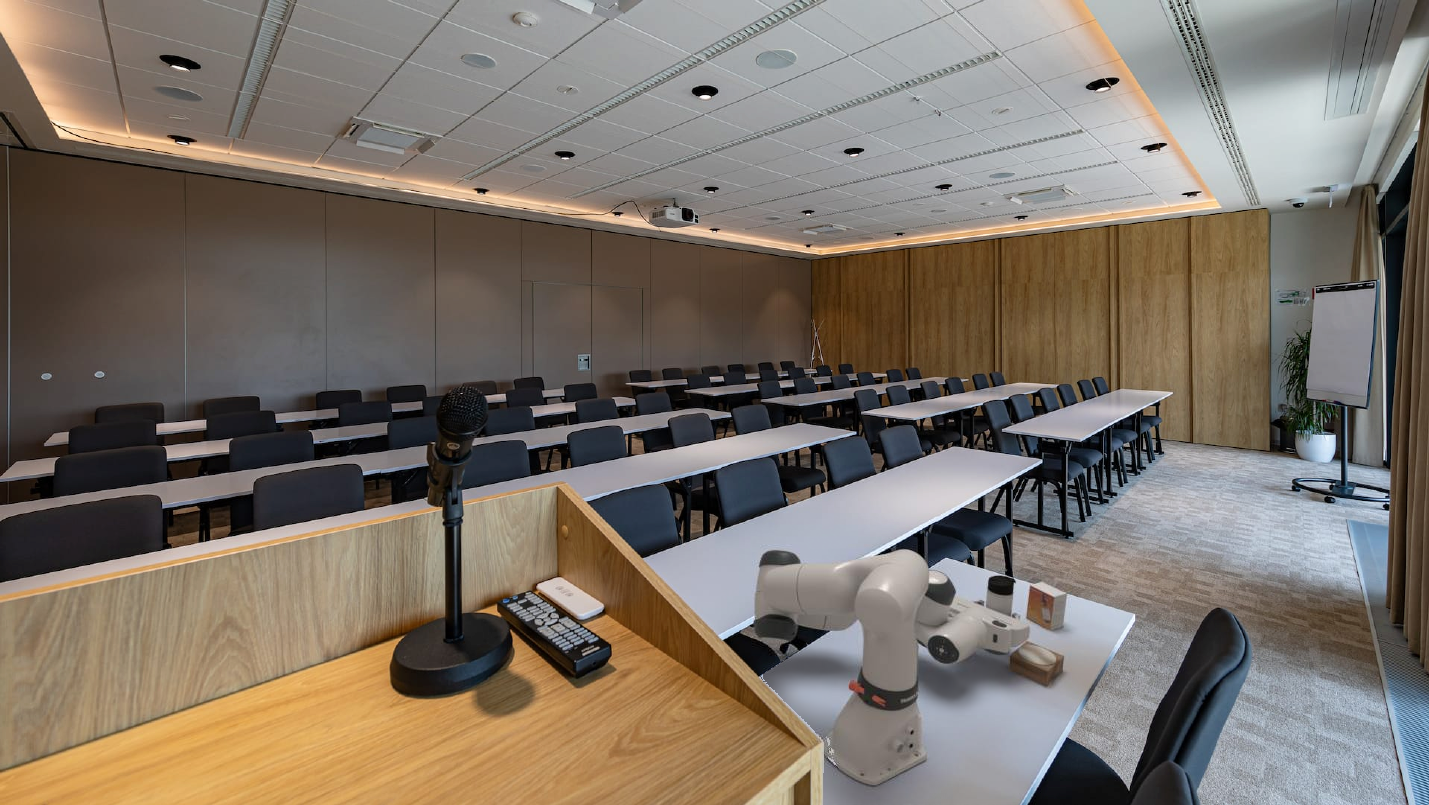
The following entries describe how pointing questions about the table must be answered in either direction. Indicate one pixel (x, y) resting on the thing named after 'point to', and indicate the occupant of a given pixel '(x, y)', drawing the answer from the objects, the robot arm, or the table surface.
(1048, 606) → the small box
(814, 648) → the table surface
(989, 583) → the travel mug
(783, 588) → the robot arm
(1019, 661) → the plinth
